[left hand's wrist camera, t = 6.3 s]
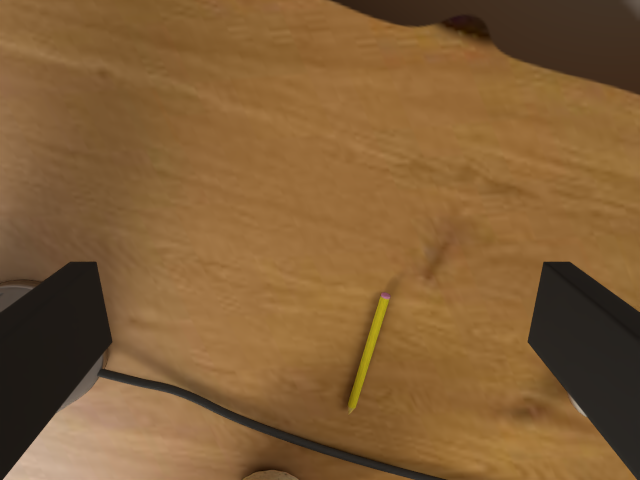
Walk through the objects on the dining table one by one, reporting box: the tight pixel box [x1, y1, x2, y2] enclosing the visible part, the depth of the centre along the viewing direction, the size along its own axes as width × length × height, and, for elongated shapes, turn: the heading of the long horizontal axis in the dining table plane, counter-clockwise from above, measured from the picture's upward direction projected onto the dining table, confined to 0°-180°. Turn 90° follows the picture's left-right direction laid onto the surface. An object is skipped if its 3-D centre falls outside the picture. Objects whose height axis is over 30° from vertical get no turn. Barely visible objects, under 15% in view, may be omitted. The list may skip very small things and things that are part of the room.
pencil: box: [348, 293, 390, 414], centre depth 48 cm, size 16×1×1 cm, turn 168°
